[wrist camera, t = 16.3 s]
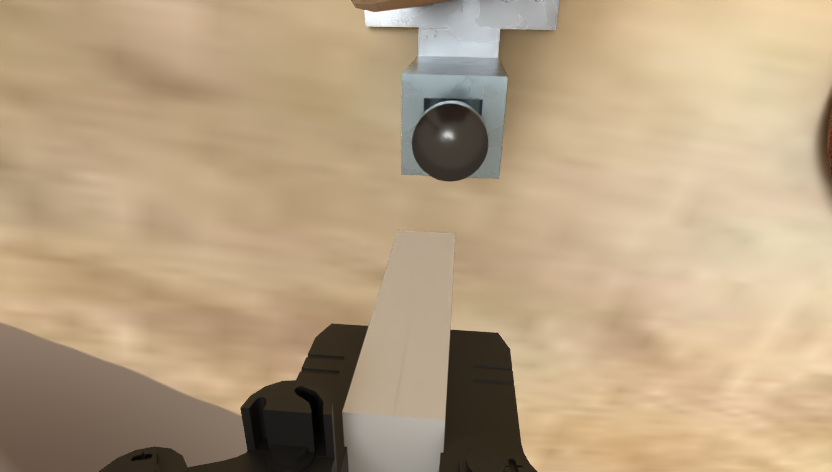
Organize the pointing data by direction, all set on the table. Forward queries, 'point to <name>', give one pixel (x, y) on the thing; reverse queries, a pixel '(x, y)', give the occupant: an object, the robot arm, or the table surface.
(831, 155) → the broken brown bowl
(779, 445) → the table surface
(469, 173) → the plunger
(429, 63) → the press
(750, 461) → the table surface
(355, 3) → the wooden block
